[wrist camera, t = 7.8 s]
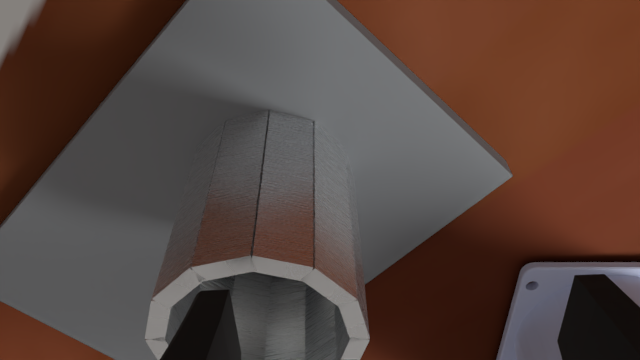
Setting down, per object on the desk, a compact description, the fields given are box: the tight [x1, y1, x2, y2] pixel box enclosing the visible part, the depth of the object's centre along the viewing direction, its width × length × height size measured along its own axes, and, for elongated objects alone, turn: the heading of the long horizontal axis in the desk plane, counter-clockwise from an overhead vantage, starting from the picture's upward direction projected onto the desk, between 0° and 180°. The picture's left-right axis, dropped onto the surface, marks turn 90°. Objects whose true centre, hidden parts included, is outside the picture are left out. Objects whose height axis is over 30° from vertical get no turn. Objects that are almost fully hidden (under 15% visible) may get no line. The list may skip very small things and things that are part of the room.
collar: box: [145, 110, 370, 360], centre depth 18 cm, size 6×6×7 cm
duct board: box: [0, 0, 513, 360], centre depth 22 cm, size 12×18×4 cm, turn 137°
